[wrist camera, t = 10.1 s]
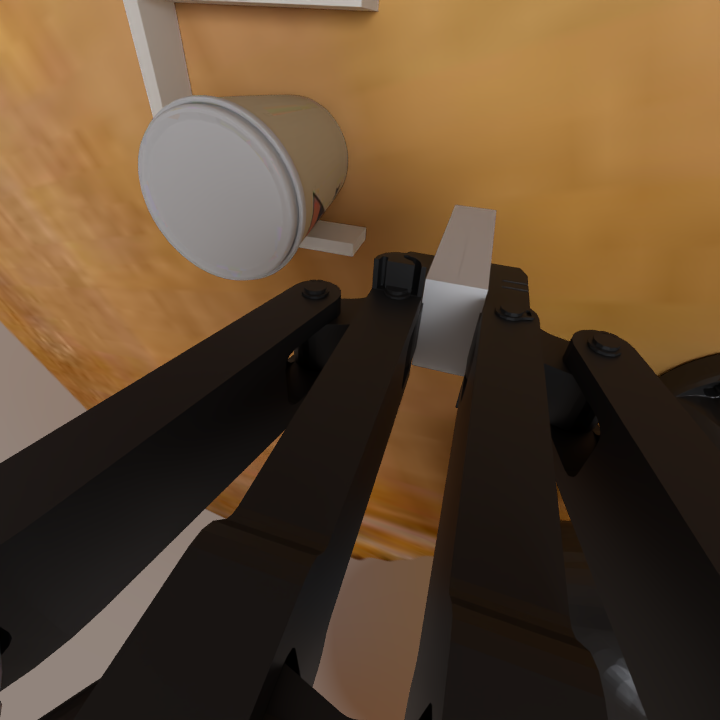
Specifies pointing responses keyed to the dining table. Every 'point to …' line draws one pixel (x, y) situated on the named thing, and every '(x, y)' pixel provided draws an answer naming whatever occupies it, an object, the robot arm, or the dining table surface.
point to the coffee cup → (240, 178)
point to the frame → (171, 82)
